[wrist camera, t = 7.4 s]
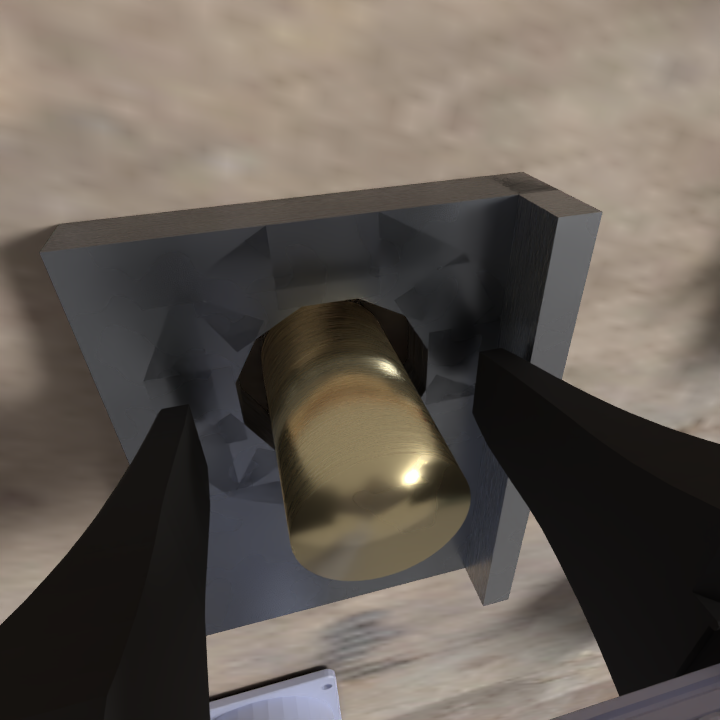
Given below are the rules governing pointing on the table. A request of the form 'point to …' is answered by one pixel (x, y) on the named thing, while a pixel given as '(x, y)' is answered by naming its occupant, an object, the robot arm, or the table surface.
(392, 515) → the brass cylinder plug
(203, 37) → the table surface
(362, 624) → the table surface
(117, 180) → the table surface
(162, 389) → the jig
